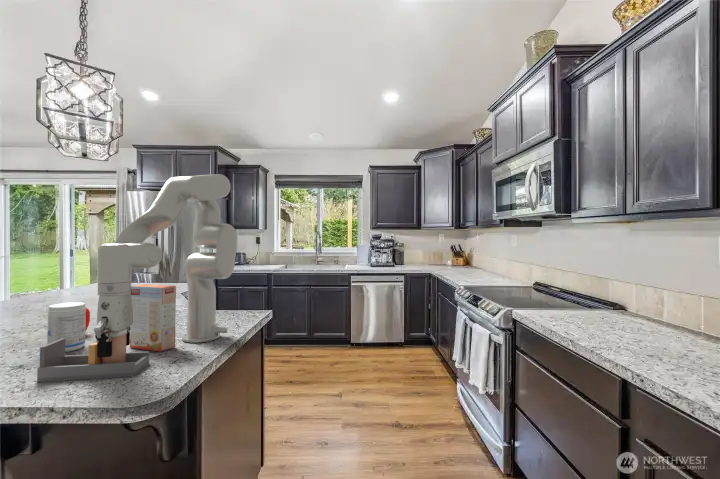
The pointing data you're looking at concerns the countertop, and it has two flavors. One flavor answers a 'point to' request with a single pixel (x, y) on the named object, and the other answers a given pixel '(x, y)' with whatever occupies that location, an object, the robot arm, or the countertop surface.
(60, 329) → the supplement tub
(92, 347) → the lane pusher
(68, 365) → the pusher lane
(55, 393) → the countertop surface
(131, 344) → the cracker box
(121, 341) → the terracotta jar
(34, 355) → the countertop surface
